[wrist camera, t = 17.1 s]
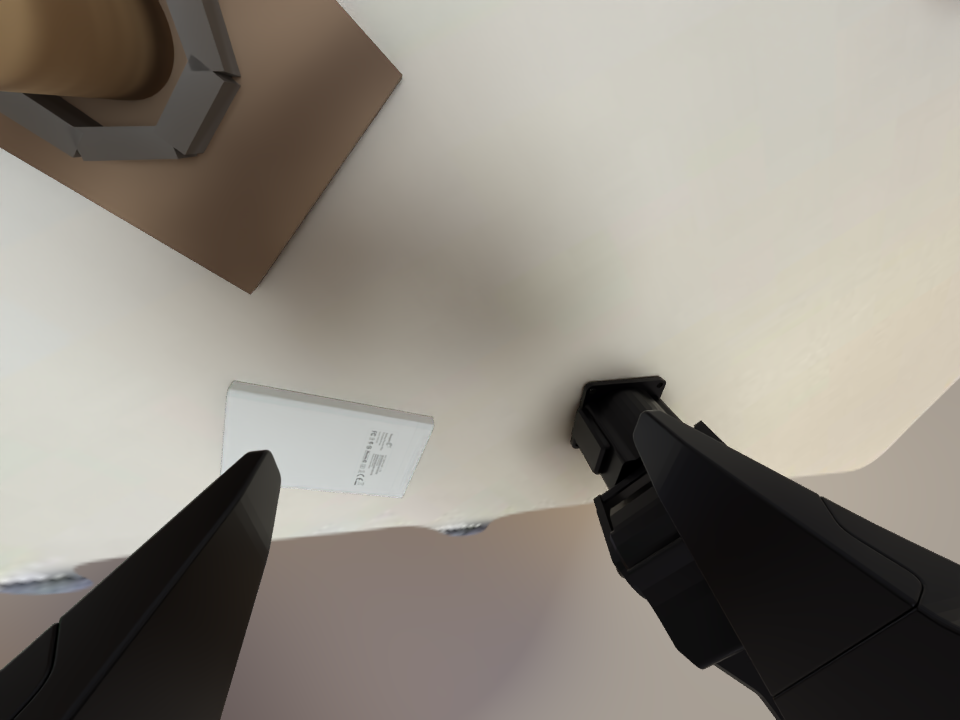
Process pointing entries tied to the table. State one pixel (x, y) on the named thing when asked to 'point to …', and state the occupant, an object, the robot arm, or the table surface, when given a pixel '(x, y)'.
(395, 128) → the table surface
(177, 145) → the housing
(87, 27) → the light brown tall cylinder
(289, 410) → the external hard drive
